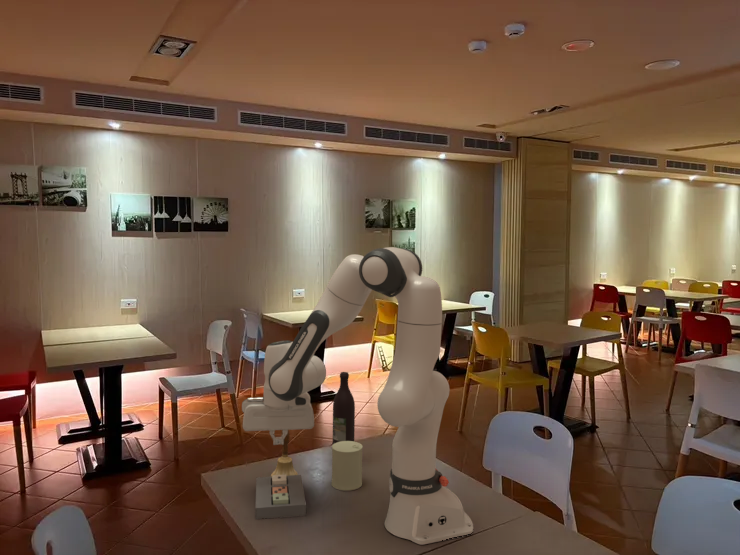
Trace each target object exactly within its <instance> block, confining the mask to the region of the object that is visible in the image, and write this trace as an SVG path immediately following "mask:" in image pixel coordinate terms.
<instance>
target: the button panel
mask: <svg viewBox="0 0 740 555" xmlns="http://www.w3.org/2000/svg"><path fill="white" fill-rule="evenodd" d="M286 480H287V484H284V485H272V477H271V476H258V477H256V478H255V520H262V518H264V519H265V518H267V519H277V518H278V517H280V518H291V517H303V516H305V517H306V516H307V504H306V496H305V490H304V485H303V478H302V474H298V475H289V476H286ZM284 486H287V493H288V504H279V505H273V495H272V487H284ZM278 519H279V518H278Z"/></svg>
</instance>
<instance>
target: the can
mask: <svg viewBox="0 0 740 555" xmlns="http://www.w3.org/2000/svg"><path fill="white" fill-rule="evenodd" d="M331 450H332V451H331V453H332V454H331V455H332V457H331V464H332V466H331V482H330V484H331V487H333V489H335V490H339V491H346V492H347V491H354V490H357V489H359V488H361V487H362V486H363V475H362V474H363V472H362V471H363V444H361V443H360V442H357V441H355V440H354V441H341V442H337V443H335V444H333V443H332V445H331Z"/></svg>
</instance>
